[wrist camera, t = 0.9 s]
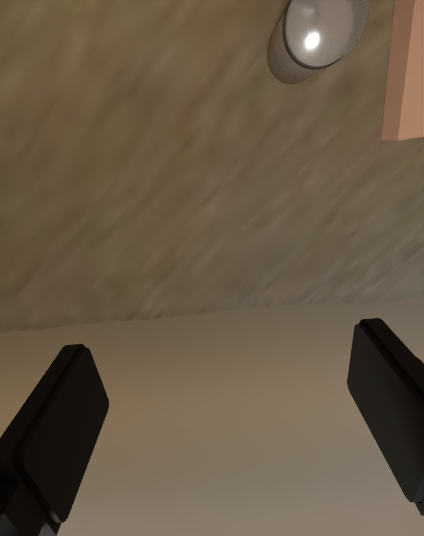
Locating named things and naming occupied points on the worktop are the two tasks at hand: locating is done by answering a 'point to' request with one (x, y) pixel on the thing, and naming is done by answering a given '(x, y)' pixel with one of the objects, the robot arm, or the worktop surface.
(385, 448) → the robot arm
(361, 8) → the piston
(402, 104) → the pink square holed slab
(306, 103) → the worktop surface
